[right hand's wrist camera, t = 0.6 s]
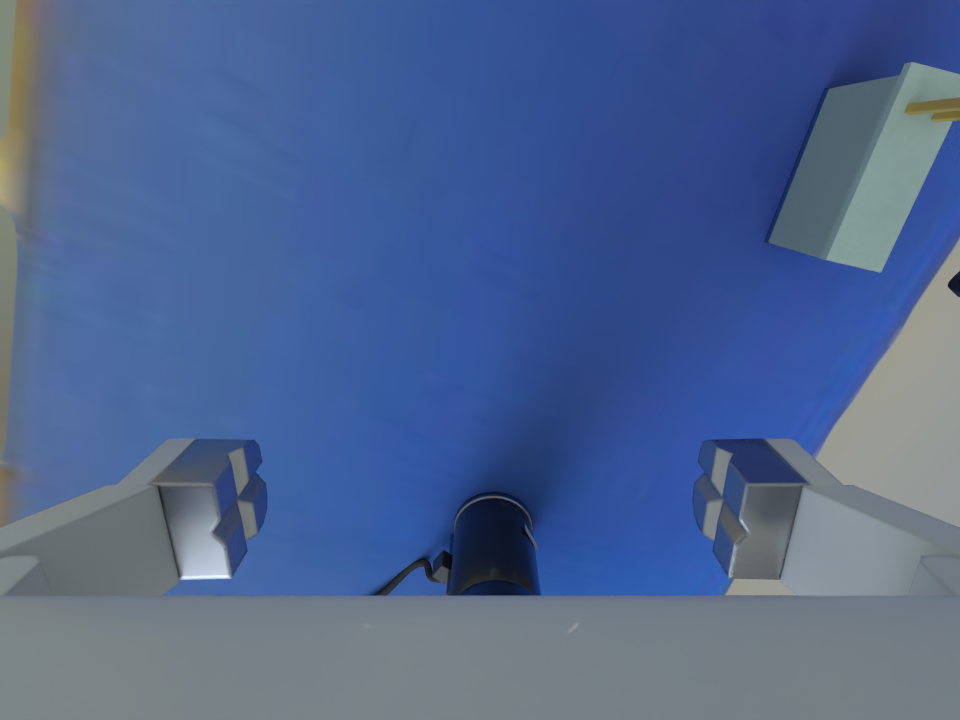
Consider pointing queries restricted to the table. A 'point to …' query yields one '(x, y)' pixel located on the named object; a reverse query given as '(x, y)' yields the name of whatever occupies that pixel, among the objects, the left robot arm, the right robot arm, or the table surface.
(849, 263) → the lid
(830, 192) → the chest
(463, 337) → the table surface
